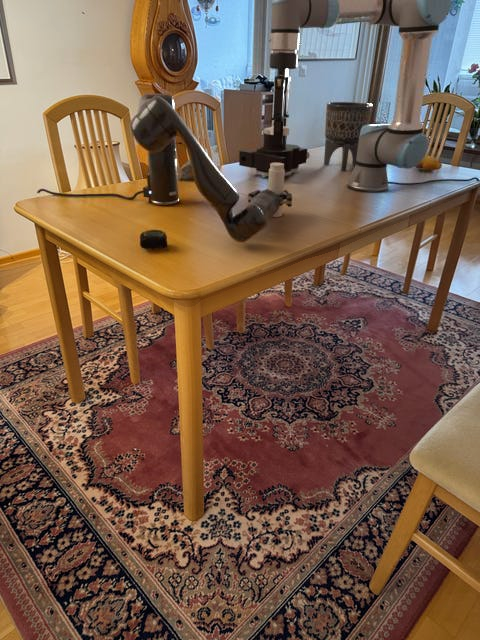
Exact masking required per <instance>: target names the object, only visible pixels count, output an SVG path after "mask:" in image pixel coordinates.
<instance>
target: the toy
mask: <svg viewBox="0 0 480 640" xmlns="http://www.w3.org/2000/svg"><path fill="white" fill-rule="evenodd" d="M414 168H417V169H422V170H424V171H426V172H434V171H437V170H440V169H441V168H443V164H442V162H438V161H437V159H436V158H435V157H433V156H424V158H423V159H422V160H421V161H420V163H419V164H418V165H416V166H415V167H414Z"/></svg>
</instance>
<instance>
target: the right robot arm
mask: <svg viewBox="0 0 480 640" xmlns="http://www.w3.org/2000/svg"><path fill="white" fill-rule="evenodd" d="M451 6H452V0H271V9H270V20H271V21H270V37H268V42H270V46H269V47H270V49H269V50H270V51H272V52H270V54H269V68H270V69H273V70H277V72H276V76H274V79H273V80H274V81H273V82H274V91H273V92H274V94H273V95H274V96H273V114H272V117H271V118H270V119H271V121H274V132H273V145H282V144H283V142H285V137H286V135H285V136H283V126H287V118H290V114H288V113H289V93H290V83H291V76H289V70H296V69H297V68H298V58H299V57H298V53H297V51H298V50H299V45H300V44H299V43H300V29H312V28H314V29H315V28H318V29H319V28H320V29H327V28H331V27H333V26H336V25H345V24H357V23H364V24H365V25H368V26H372V25H373V26H375V25H376V26H377V25H378V26H389V27H398V35H399V36H400V38H401V39H402V43H401V52H400V60H399V70H398V77H397V83H396V84H397V86H396V95H395V103H394V111H393V120H392V122H391V123H381V124H380V123H379V124H369V125H365V126H363V127H362V128H361V131H360V136H359V142H358V150H357V158H356V165H355V166H354V167H353V171H351V174H350V176H349V179H348V182H347V187H348V188H349V189H351V190H354V191H358V192H363V193H364V192H365V193H382V192H386V191H388V189H389V185H399V186H416V185H423V184H425V185H426V184H428V183H436V182H470V181H473V180H476V181H477V182H480V179H479V178H478V177H477V176H473V177H471V178H466V179H464V178H463V179H461V178H460V179H459V178H443V179H430V180H424V181H419V182H397V181H389V178H388V173H387V172H388V171H387V166H389V165H390V166H393V167H397V168H400V169H407V170H409V169H412V168H416V167H415V166H416V165H418V164H419V163H420V161H421V160H422V159H423V158H425V157H426V154H427V152H428V149H429V139H428V137H427V136H426V135H425V134H424V124H423V123H422V122H421V115H422V107H423V101H424V94H425V86H426V81H427V80H426V79H427V74H428V66H429V59H430V52H431V45H432V40H433V37H434V36H435V35H436V34H437V33H438V32H439V29H440V24H442V23H443V22H444V21H445V20H446V19H447V16H448V15H449V14H450V11H451Z"/></svg>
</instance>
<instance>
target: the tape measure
mask: <svg viewBox="0 0 480 640" xmlns="http://www.w3.org/2000/svg"><path fill="white" fill-rule="evenodd" d="M167 236H168V235H167V234H166V232H165V231H164V230H161V229H147V230H144V231H143V232H141V233H140V235H139V240H140V241H139V245H140V246H139V247H141V248H142V249H146V250H157V249H167V248H168V240H167V239H168V237H167Z"/></svg>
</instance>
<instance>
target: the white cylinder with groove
mask: <svg viewBox="0 0 480 640" xmlns="http://www.w3.org/2000/svg"><path fill="white" fill-rule="evenodd" d="M270 127H271V128H270V134H271V135H273V132H274V126H270ZM290 128H291V127H290V126H287V125H286V126H283V136H285V135H287V136H289V135H290Z"/></svg>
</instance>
